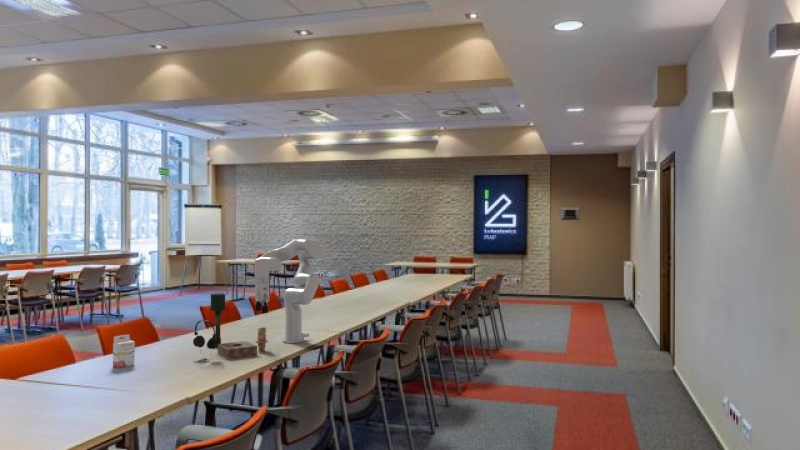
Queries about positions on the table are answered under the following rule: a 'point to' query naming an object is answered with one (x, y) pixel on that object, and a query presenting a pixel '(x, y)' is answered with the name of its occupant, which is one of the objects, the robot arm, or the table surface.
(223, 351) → the socket block
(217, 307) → the stick grenade
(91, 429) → the table surface
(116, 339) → the ink cartridge box
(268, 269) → the robot arm
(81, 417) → the table surface
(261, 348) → the peg
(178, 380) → the table surface
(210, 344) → the headphones
